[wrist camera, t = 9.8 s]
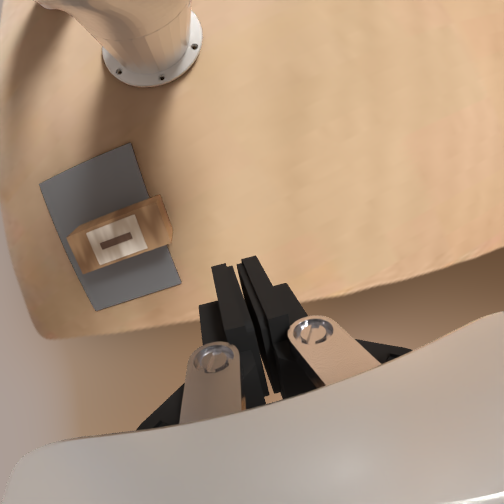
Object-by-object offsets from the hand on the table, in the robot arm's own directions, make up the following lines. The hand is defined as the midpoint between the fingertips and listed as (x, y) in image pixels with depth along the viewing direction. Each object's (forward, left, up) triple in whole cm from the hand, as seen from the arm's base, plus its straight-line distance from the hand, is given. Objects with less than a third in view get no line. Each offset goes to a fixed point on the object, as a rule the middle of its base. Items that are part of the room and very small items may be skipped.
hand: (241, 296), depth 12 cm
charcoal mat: (+2, -14, -30) cm, 33 cm away
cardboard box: (+2, -6, -27) cm, 27 cm away
